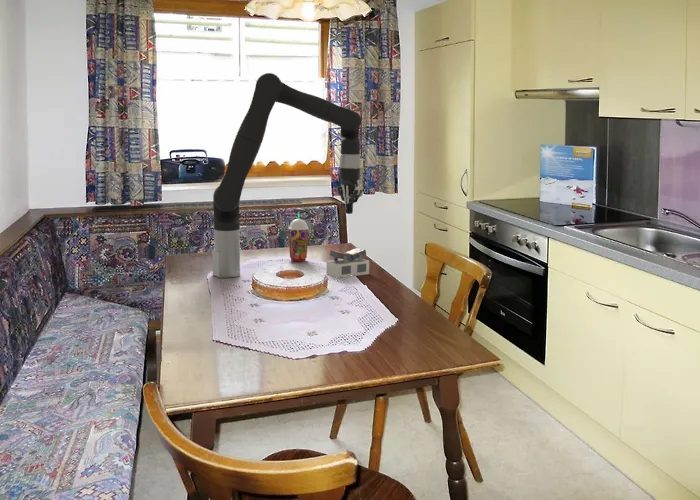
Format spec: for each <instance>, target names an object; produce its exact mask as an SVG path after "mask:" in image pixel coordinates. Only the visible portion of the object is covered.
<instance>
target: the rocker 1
mask: <svg viewBox="0 0 700 500" xmlns="http://www.w3.org/2000/svg"><path fill="white" fill-rule="evenodd" d="M329 256H331V257H332V258H334V257H336V258H338V259H343V257H344V256H347V260H350V258H351V255H349V254H347V253H346V252H343V251H342V252H340V251H338V250H334V249H332V250H330V253H329Z"/></svg>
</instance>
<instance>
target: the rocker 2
mask: <svg viewBox="0 0 700 500" xmlns="http://www.w3.org/2000/svg"><path fill="white" fill-rule="evenodd" d="M345 253H347V254H349V255H351V258H350V259H352V260H355V259H357V258H358V257H359V255H361V254H362V255H363V256H364V257H365V256H366V255H367V251H366V249H365V248H362V247H359V246H358V247H355V248H353V249H351V250H349V251H346V252H345ZM363 256H362V257H363Z"/></svg>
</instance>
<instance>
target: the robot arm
mask: <svg viewBox="0 0 700 500" xmlns="http://www.w3.org/2000/svg"><path fill="white" fill-rule="evenodd" d="M276 103H279V104H282V105H283V104H284V105H285V106H289V107H292V108H295V109H297V110H299V111H301V112H302V113H305V114H307V115H310V116H312V117H314V118H317V119H320V120H321V121H324V122H328V123H332V124H333V125H335V126H338V127H340V137H341V141H340V156H339V180H341V185H340V186H338V187H337V191H338V194H339V197H340V199H341V201H342V202H344V204H345V205H344V206H345V207H344V208H345V212H344V213H345V214H348V215H351V214H353V210H354V209H353V208H354V203H357V202H358V200H359V198H360V197H361V195H362V193H363V190H362V189H359V184H358V181H359V180H360V179H361V155H360V153H361V141H360V139H359V138H360V127H361V125H362V118H361V114H359V113H358V112H357V111H355V110H352V109H349V108H345V107H343V106H341V105H340V106H339V105H338V104H336V103H334V102H331V101H330V100H328V99H327V100H326V99H325V98H321V97H319V96H316V95H314V94H310V93H307V92H304V91H300V90H298V89H296V88H293V87H291V86H289V85H288V84H286V83H285V82H282V81H281V78H280V77H279V76H278V75H276V74H275V73H272V72H266V73H263V74H262V75H260V76H259V77H258V78H257V80H256V83H255V88H254V91H253V95H252V98H251V102H250V104H249V105H250V106H249V107H248V110H247V112H246V114H245V116H244V118H243V119H242V122H241V123H240V126H239V127H238V131H237V133H236V135H235V138H234V140H233V143H232V145H231V146H232V147H231V149H230V153H229V158H228V164H227V168H226V171H225V174H224V176H223V178H222V180H221V182H220V184H219V186H217V187H216V188H215V190H214V191H213V195H212V197H213V198H212V199H213V200H212V202H213V206H212V207H213V239H214V240H213V249H212V252H211V253H212V255H211V257H212V259H211V260H212V276H214V277H216V278H219V279H221V278H222V279H223V278H225V279H226V278H227V279H230V278H236V277H239V276H241V244H240V242H241V241H240V240H241V237H240V236H241V235H240V234H241V231H240V230H241V229H240V228H241V227H240V226H241V225H240V200H241V195H242V192H243V188H244V185H245V181H246V179H247V176H248V174H249V172H251V168H252V166H253V164H254V162H255V160H256V157H257V155H258V153H259V151H260V148H261V145H262V143H263V140H264V137H265V133H266V129H267V125H268V122H269V121H268V120H269V117H270V114H271V112H272V110H273V108H274V105H275V104H276Z"/></svg>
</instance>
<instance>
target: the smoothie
mask: <svg viewBox="0 0 700 500" xmlns="http://www.w3.org/2000/svg"><path fill="white" fill-rule="evenodd" d="M287 228H288V229H287V230H288V245H289V246H288V247H289V259H291V261H292V262H293V263H294V262H295V263H297V262H298V263H304V262H306V259H307V258H308V257H307V256H308V244H309V243H308V241H309V229H310V228H309V225H308V224H307V222H306V220H304V219H302V218H300V212H299V211H298V212H297V218H296V219H294V220H292V221H291V222H290V224H289V226H288V227H287Z"/></svg>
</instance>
